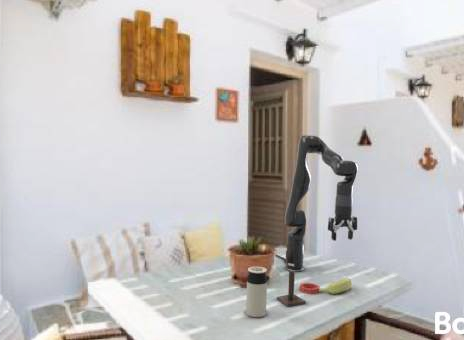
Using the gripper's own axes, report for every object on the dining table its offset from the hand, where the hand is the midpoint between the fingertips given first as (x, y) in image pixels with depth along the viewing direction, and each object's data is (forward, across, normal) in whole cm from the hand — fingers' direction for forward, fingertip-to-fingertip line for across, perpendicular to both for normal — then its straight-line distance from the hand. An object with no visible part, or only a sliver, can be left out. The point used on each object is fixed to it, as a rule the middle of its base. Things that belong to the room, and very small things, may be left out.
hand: (342, 239), depth 177 cm
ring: (+26, +10, -9) cm, 29 cm away
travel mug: (+26, +45, +8) cm, 52 cm away
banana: (+26, -2, -6) cm, 27 cm away
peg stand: (+26, +25, +1) cm, 36 cm away
